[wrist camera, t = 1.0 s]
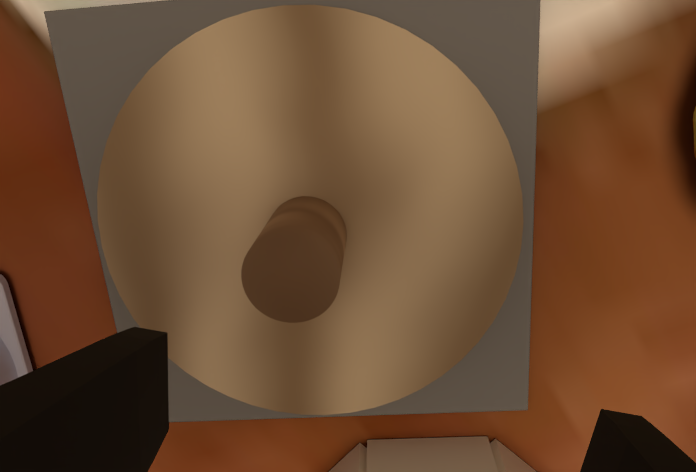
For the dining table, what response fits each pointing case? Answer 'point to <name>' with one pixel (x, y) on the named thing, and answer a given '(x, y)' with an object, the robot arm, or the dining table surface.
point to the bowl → (432, 456)
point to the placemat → (385, 3)
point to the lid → (310, 209)
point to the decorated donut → (695, 129)
